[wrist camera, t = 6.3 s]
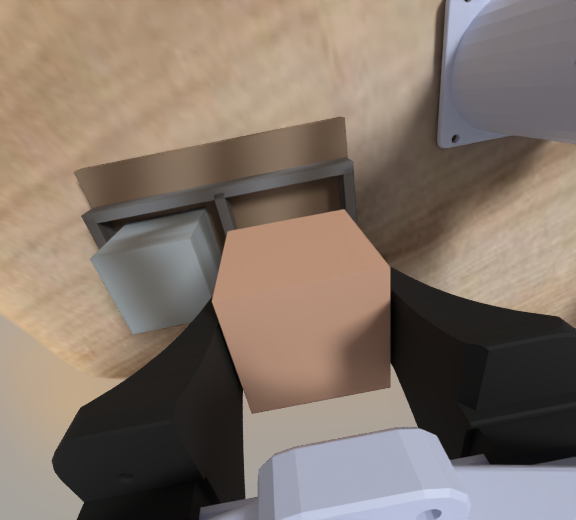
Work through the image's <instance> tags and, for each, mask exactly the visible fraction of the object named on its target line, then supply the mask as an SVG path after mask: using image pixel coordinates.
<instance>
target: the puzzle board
mask: <svg viewBox="0 0 576 520" xmlns="http://www.w3.org/2000/svg"><path fill="white" fill-rule="evenodd" d="M74 174H75V176H76V178H77V180H78V181H79V183H80V185H81V187H82V189H83V191H84V193H85V195H86V197H87V199H88V201H89V203H90V205H91V207H92V209H91V210H89V211H88V212H86V213H85V214H83V215H82V216H81V217H82V218H83V220H84V222H85V224H86V226H87V228H88V229H89V231H90V233H91V235H92V237H93V239H94V241H95V242H96V244H97V246H98V248H99V250H98V251H97V252H96V253H95V254H94V255H93V256H92V257H91V258H90V260H91V262H92V263H93V265H94V267H95V269H96V270H97V272H98V274H99V276H100V277H101V279H102V281H103V283H104V285H105V286H106V288H107V290H108V292H109V293H110V295H111V297H112V299H113V300H114V302H115V304H116V306H117V307H118V309H119V311H120V313H121V314H122V316H123V318H124V320H125V321H126V323H127V325H128V327H129V328H130V330H131V332H132V334H138V333H143V332H148V331H153V330H158V329H163V328H168V327H173V326H178V325H183V324H188V323H191V322H192V321H193V320H194V319H195V317H196V316H197V315H198V314H199V313H200V312H201V310H202V309H203V308H204V306H205V305H206V304H207V302H208V301H209V300H210V298H211V297H212V296H213V294H214V289H215V285H216V281H217V276H218V272H219V267H220V263H221V258H222V254H223V250H224V245H225V241H226V236H227V232H228V231H232V230H237V229H242V228H248V227H253V226H258V225H264V224H269V223H274V222H279V221H285V220H290V219H295V218H301V217H306V216H311V215H316V214H322V213H327V212H332V211H338V210H343V209H344V210H345V211H346V212H347V213H348V215H349V216H350V217H351V218H352V220H353V221H354V222H355V224H356V225H357V215H356V200H355V186H354V171H353V161H351V160H350V159H348V155H347V142H346V129H345V118H344V117H337V118H332V119H327V120H322V121H317V122H312V123H307V124H302V125H297V126H292V127H287V128H282V129H277V130H272V131H267V132H262V133H257V134H252V135H247V136H242V137H237V138H232V139H227V140H222V141H217V142H212V143H207V144H202V145H197V146H192V147H187V148H182V149H177V150H172V151H167V152H162V153H157V154H152V155H147V156H142V157H137V158H132V159H127V160H122V161H117V162H112V163H107V164H102V165H97V166H92V167H87V168H82V169H80V170H77V171H75V172H74Z"/></svg>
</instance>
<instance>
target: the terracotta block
mask: <svg viewBox="0 0 576 520" xmlns="http://www.w3.org/2000/svg"><path fill="white" fill-rule="evenodd" d="M212 303H213V306H214V309H215V312H216V314H217V317H218V320H219V323H220V326H221V328H222V331H223V334H224V337H225V340H226V342H227V345H228V348H229V351H230V354H231V356H232V359H233V362H234V365H235V368H236V371H237V373H238V376H239V379H240V382H241V385H242V387H243V390H244V393H245V395H246V399H247V401H248V404H249V407H250V410H251V413H252V414H253V413H258V412H263V411H269V410H274V409H280V408H285V407H290V406H295V405H300V404H306V403H311V402H316V401H322V400H327V399H332V398H337V397H342V396H348V395H353V394H359V393H364V392H369V391H374V390H379V389H385V388H390V266H389V265H388V264H387V263H386V261H385V260H384V259H383V258H382V256H381V255H380V254H379V253H378V251H377V250H376V249H375V247H374V246H373V245H372V244H371V242H370V241H369V240H368V239H367V237H366V236H365V235H364V234H363V232H362V231H361V230H360V229H359V227H358V226H357V225H356V224H355V222H354V221H353V220H352V218H351V217H350V216H349V215H348V213H347V212H346V211H345V210H344V209H343V210H338V211H332V212H327V213H322V214H316V215H311V216H306V217H301V218H295V219H290V220H285V221H279V222H274V223H269V224H264V225H258V226H253V227H248V228H242V229H237V230H232V231H228V232H227V236H226V241H225V245H224V250H223V254H222V258H221V263H220V267H219V272H218V276H217V281H216V285H215V289H214V294H213V298H212Z"/></svg>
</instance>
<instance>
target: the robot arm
mask: <svg viewBox="0 0 576 520" xmlns="http://www.w3.org/2000/svg"><path fill="white" fill-rule="evenodd" d="M454 135H456V139H455V140H454V141H453V142H452V140H451V139H452V137H453V136H454ZM511 135H514V136H521V137H528V138H535V139H542V140H549V141H556V142H563V143H570V144H576V0H468V1H467V2H465V1H464V0H446V6H445V22H444V38H443V54H442V70H441V86H440V101H439V117H438V133H437V144H438V146H439V147H441V148H451V147H456V146H461V145H466V144H471V143H476V142H481V141H486V140H491V139H496V138H501V137H506V136H511ZM212 298H213V296H212V297H211V298H210V300H209V301H208V302H207V304H206V305H205V306H204V308H203V309H202V310H201V312H200V313H199V314H198V315H197V316H196V317H195V319H194V320H193V321H192V322H191V323H190V324H189V326H188V327H187V328H186V329H185V330H184V331H183V332H182V333H181V334H180V335H179V336H178V337H177V338H176V339H175V340H174V341H173V342H172V343H171V344H170V345H169V346H168V347H167V348H166V349H165V350H163V351H162V352H161V353H160V354H159V355H157V356H156V357H155V358H154V359H153V360H151V361H150V362H149V363H148V364H147V365H145V366H144V367H143V368H141V369H140V370H139V371H137V372H136V373H135V374H133V375H132V376H130V377H129V378H127V379H126V380H125V381H123V382H122V383H120V384H119V385H117V386H116V387H114V388H113V389H111V390H109V391H108V392H106V393H104V394H103V395H101V396H99V397H98V398H96V399H94V400H93V401H91V402H89V403H88V404H86V405H84V406H82V407H81V408H80V409H79V411H78V412H77V414H76V416H75V418H74V420H73V421H72V423H71V425H70V426H69V428H68V430H67V432H66V433H65V435H64V437H63V439H62V440H61V442H60V444H59V446H58V448H57V449H56V451H55V453H54V456H53V459H52V464H53V468H54V471H55V473H56V474H57V475H58V477H59V478H60V479H61V480H62V481H63V482H64V483H65V484H66V485H67V486H68V487H69V488H70V489H71V490H72V491H73V492H74V493H75V494H76V495H77V496H78V497H79V498H80V499H81V500H82V501H84V504H83V506H82V509H81V511H80V513H79V516H78V518H77V520H576V329H575V328H574V327H572V326H571V325H569V324H568V323H567V322H565V321H564V320H563V319H561V318H560V317H557V316H550V315H543V314H536V313H529V312H522V311H516V310H511V309H506V308H501V307H496V306H492V305H488V304H483V303H479V302H476V301H472V300H469V299H465V298H462V297H458V296H455V295H452V294H449V293H447V292H444V291H441V290H438V289H436V288H433V287H431V286H428V285H426V284H424V283H422V282H420V281H417V280H415V279H413V278H411V277H409V276H407V275H405V274H403V273H401V272H399V271H397V270H396V269H394V268H392V267H390V362H391V364H392V366H393V368H394V370H395V372H396V374H397V377H398V379H399V382H400V384H401V386H402V388H403V391H404V393H405V396H406V398H407V401H408V403H409V406H410V408H411V411H412V413H413V415H414V418H415V421H416V423H417V426H418V428H417V427H402V428H391V429H386V430H380V431H375V432H370V433H365V434H359V435H354V436H349V437H344V438H339V439H333V440H328V441H323V442H318V443H312V444H307V445H302V446H296V447H293V448H290V449H287V450H284V451H282V452H279V453H276V454H274V455H273V456H272V457H271V458H270V459H269V460H268V461H267V462H266V463H265V464H264V465H263V466H262V467H261V468H260V469H259V474H258V497H254V498H249V499H245V483H244V455H243V406H242V405H243V387H242V385H241V382H240V379H239V376H238V373H237V371H236V368H235V365H234V362H233V359H232V356H231V354H230V351H229V348H228V345H227V342H226V340H225V337H224V334H223V331H222V328H221V326H220V323H219V320H218V317H217V314H216V312H215V309H214V306H213V303H212Z"/></svg>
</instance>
